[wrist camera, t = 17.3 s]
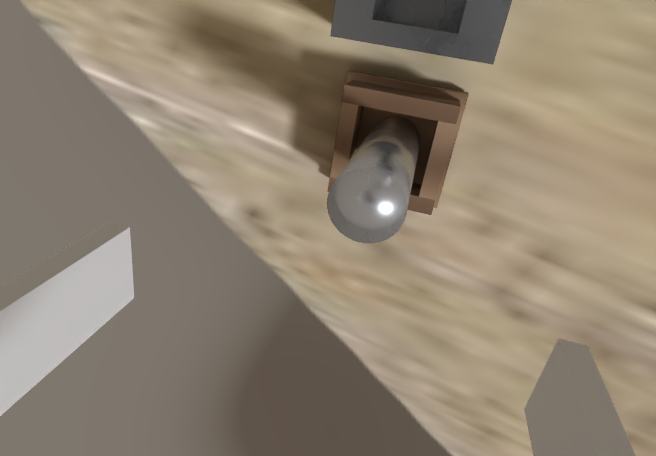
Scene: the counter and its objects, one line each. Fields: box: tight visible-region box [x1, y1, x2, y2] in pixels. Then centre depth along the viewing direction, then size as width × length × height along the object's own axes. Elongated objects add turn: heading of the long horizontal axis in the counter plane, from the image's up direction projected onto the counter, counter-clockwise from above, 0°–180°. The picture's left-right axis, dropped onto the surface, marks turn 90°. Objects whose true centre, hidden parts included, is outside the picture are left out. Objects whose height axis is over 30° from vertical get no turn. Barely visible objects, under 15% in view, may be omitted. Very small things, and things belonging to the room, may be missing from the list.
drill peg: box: [327, 116, 420, 243], centre depth 28 cm, size 4×4×14 cm
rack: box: [328, 71, 468, 215], centre depth 34 cm, size 9×9×4 cm
